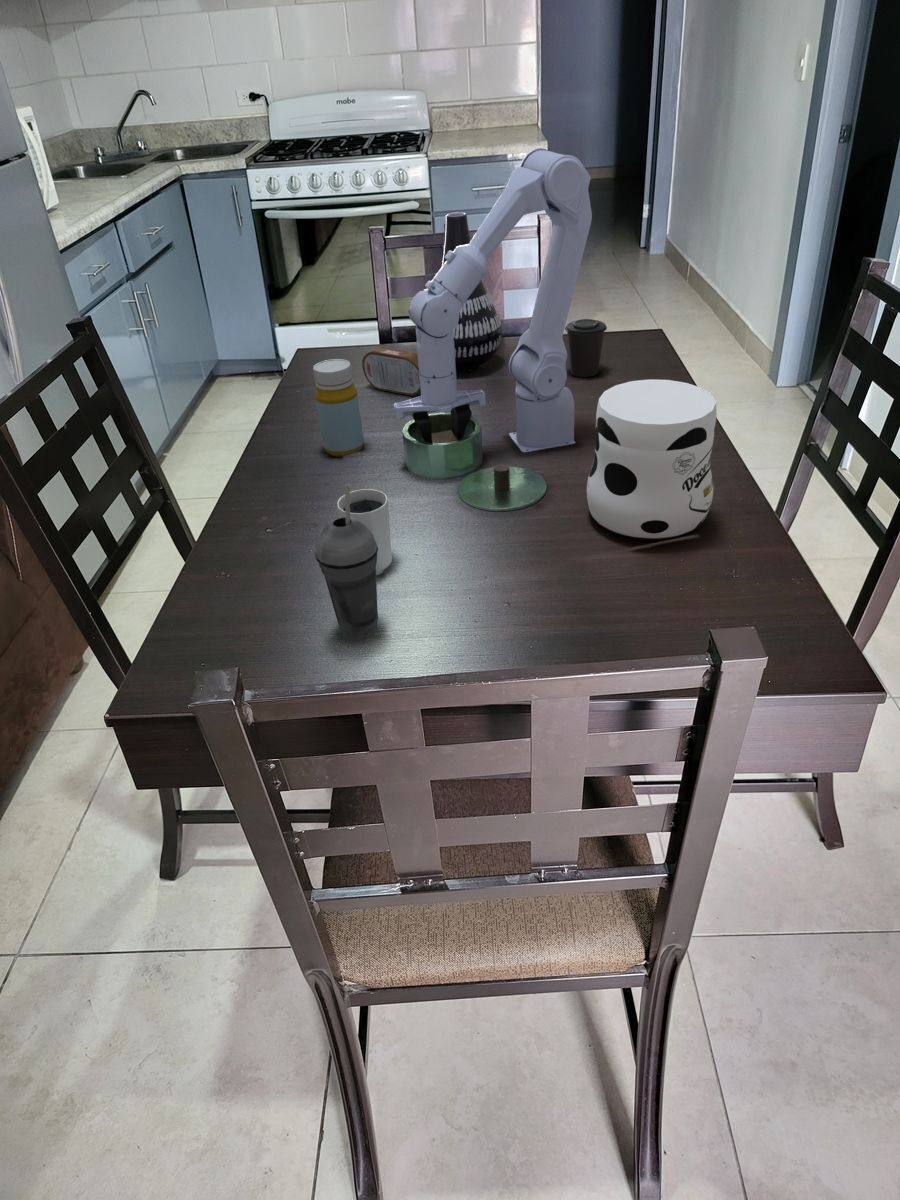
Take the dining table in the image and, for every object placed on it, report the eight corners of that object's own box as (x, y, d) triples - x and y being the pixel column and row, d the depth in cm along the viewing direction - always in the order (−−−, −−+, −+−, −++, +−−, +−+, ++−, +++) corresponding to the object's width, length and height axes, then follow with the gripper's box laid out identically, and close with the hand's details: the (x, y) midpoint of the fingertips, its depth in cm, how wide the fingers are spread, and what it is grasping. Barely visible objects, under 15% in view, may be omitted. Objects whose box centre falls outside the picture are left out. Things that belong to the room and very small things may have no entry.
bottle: (358, 458, 142) (345, 373, 133) (319, 457, 143) (304, 373, 135) (369, 440, 148) (358, 358, 139) (331, 439, 149) (318, 357, 140)
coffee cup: (607, 378, 163) (610, 327, 158) (566, 380, 164) (567, 330, 158) (602, 363, 170) (604, 314, 164) (562, 365, 170) (562, 316, 164)
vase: (411, 368, 175) (397, 217, 158) (465, 347, 183) (457, 201, 166) (463, 386, 165) (454, 227, 148) (518, 363, 174) (516, 210, 156)
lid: (529, 466, 136) (529, 442, 133) (559, 505, 125) (559, 479, 122) (449, 481, 133) (447, 456, 131) (472, 521, 123) (470, 496, 120)
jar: (470, 442, 145) (468, 407, 141) (491, 473, 135) (490, 437, 131) (399, 454, 142) (395, 419, 139) (415, 487, 132) (412, 450, 129)
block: (452, 452, 140) (451, 430, 138) (458, 462, 137) (457, 439, 134) (429, 456, 139) (427, 434, 137) (435, 466, 136) (433, 443, 134)
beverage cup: (331, 615, 106) (305, 474, 94) (388, 609, 106) (369, 468, 95) (329, 651, 100) (301, 505, 88) (389, 645, 100) (369, 499, 89)
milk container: (729, 541, 114) (748, 418, 103) (607, 559, 112) (614, 436, 102) (680, 483, 128) (693, 369, 117) (571, 499, 126) (573, 384, 116)
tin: (433, 394, 163) (430, 352, 158) (424, 400, 161) (420, 357, 156) (372, 383, 170) (366, 342, 165) (362, 388, 168) (357, 347, 163)
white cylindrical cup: (341, 559, 117) (330, 496, 111) (385, 547, 119) (377, 484, 113) (355, 583, 112) (345, 518, 106) (402, 570, 113) (394, 505, 108)
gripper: (396, 387, 125) (405, 469, 133) (489, 373, 127) (492, 454, 135) (387, 371, 130) (396, 451, 138) (477, 358, 133) (480, 436, 141)
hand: (443, 451), depth 137 cm, fingers closed on block, 4 cm apart
